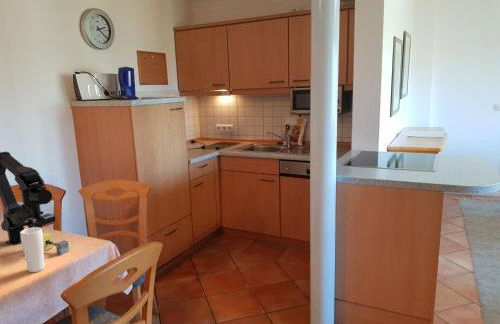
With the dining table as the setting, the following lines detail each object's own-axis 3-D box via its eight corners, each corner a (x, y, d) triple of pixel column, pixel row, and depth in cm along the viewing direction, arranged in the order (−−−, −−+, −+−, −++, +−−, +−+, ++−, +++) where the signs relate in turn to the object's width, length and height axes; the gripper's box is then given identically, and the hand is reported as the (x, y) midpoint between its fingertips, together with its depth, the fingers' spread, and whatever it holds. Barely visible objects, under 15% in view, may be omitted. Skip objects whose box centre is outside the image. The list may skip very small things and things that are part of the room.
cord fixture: (27, 249, 149) (25, 239, 149) (39, 244, 154) (38, 234, 154) (59, 255, 143) (58, 245, 142) (71, 250, 148) (69, 240, 147)
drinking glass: (37, 274, 128) (31, 234, 125) (21, 273, 129) (15, 233, 127) (51, 265, 135) (46, 227, 132) (35, 264, 136) (30, 226, 133)
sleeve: (36, 249, 148) (34, 236, 147) (45, 245, 152) (43, 232, 151) (43, 251, 147) (42, 238, 146) (53, 246, 151) (51, 234, 150)
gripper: (-5, 204, 143) (1, 241, 146) (28, 208, 137) (34, 248, 139) (22, 197, 154) (27, 232, 156) (54, 200, 147) (59, 237, 150)
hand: (36, 237), depth 150 cm, fingers closed
